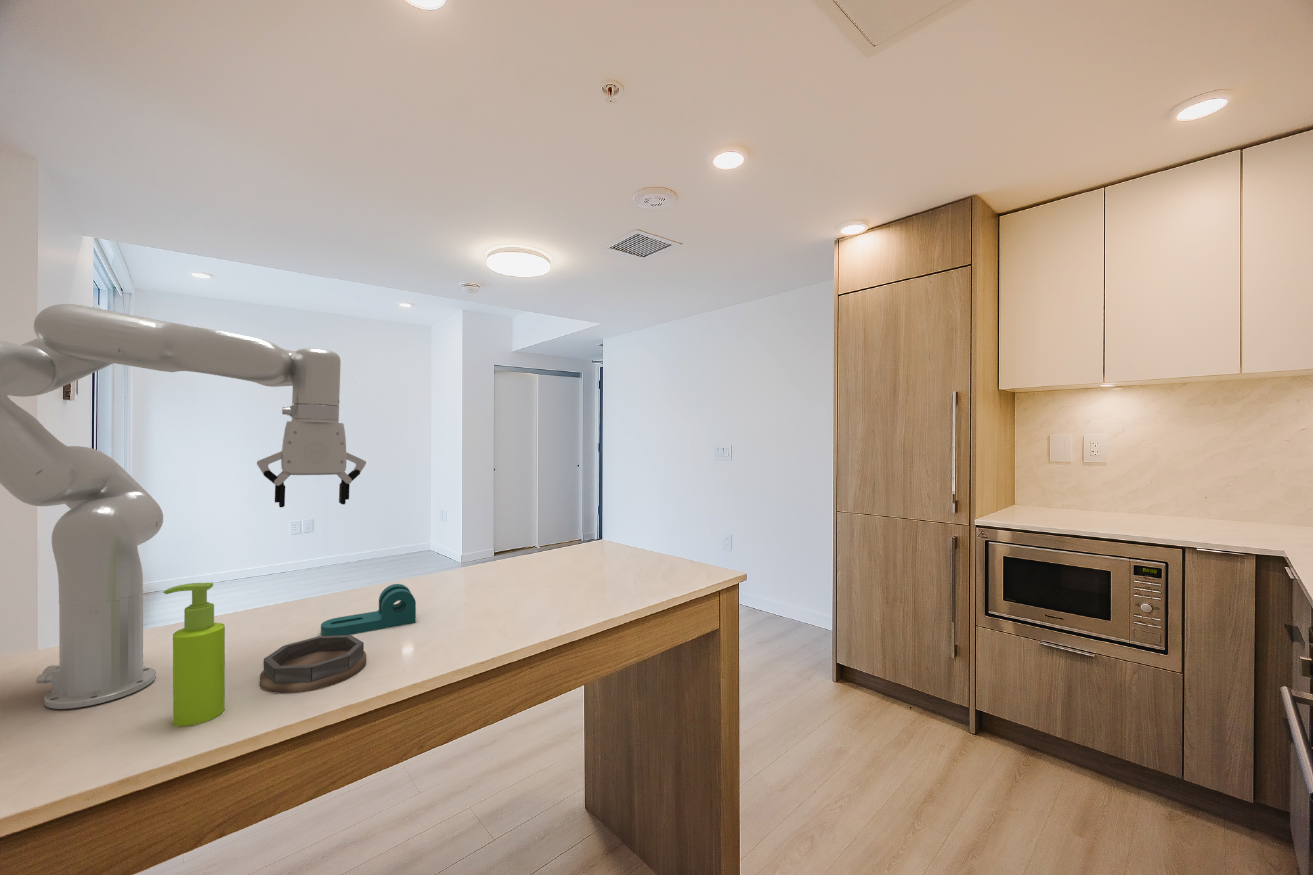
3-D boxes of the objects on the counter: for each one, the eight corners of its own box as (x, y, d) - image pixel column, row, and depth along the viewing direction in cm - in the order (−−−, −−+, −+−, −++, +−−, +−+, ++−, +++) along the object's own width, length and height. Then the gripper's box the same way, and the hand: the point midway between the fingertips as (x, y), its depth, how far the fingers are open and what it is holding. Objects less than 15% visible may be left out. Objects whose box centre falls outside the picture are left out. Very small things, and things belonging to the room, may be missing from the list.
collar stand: (236, 695, 85) (236, 672, 85) (293, 654, 101) (293, 635, 101) (341, 690, 87) (341, 668, 87) (380, 650, 102) (380, 632, 102)
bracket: (410, 614, 123) (410, 581, 123) (415, 623, 118) (415, 589, 118) (320, 630, 113) (320, 594, 113) (321, 640, 108) (321, 603, 108)
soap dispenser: (174, 711, 80) (174, 581, 80) (230, 702, 83) (230, 577, 82) (156, 731, 75) (155, 592, 74) (216, 721, 77) (216, 587, 77)
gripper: (258, 412, 90) (255, 510, 90) (370, 417, 101) (367, 504, 101) (257, 412, 96) (254, 505, 96) (363, 417, 107) (361, 500, 107)
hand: (312, 504), depth 99 cm, fingers open, 9 cm apart
